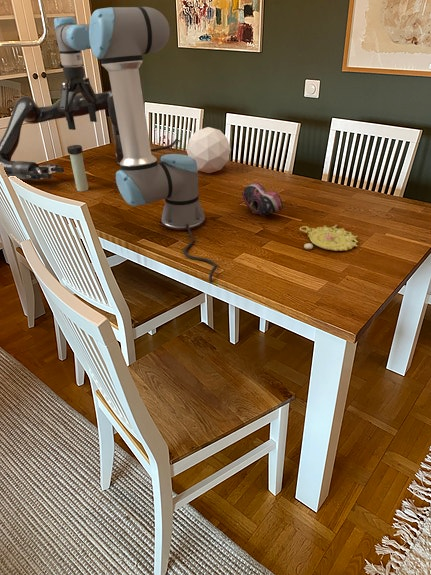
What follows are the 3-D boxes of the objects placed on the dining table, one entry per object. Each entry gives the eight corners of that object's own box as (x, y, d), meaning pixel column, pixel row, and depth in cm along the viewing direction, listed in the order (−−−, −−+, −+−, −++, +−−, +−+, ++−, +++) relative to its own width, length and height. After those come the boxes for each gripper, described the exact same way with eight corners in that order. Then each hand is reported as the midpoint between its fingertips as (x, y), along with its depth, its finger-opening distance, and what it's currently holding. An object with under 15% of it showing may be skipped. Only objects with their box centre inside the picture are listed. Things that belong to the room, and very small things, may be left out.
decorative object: (343, 255, 128) (285, 234, 139) (342, 262, 130) (284, 241, 140) (372, 230, 142) (317, 213, 152) (371, 237, 143) (316, 219, 153)
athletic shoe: (254, 181, 170) (227, 189, 167) (283, 176, 151) (253, 185, 147) (260, 210, 173) (234, 218, 170) (290, 209, 154) (261, 219, 150)
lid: (85, 151, 179) (84, 145, 178) (75, 154, 175) (73, 149, 174) (75, 149, 182) (74, 144, 181) (65, 153, 178) (63, 147, 177)
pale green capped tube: (90, 188, 188) (83, 147, 178) (82, 192, 184) (74, 150, 175) (82, 186, 190) (74, 145, 181) (74, 190, 187) (65, 148, 177)
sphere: (214, 188, 203) (213, 162, 184) (180, 167, 207) (175, 139, 188) (238, 160, 207) (239, 131, 189) (204, 140, 212) (202, 110, 193)
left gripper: (38, 173, 199) (68, 176, 195) (16, 184, 188) (48, 187, 183) (34, 157, 195) (65, 159, 191) (12, 166, 184) (44, 169, 179)
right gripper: (58, 70, 153) (70, 133, 165) (101, 62, 172) (109, 119, 184) (41, 70, 156) (54, 132, 167) (85, 61, 175) (94, 118, 186)
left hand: (57, 173), depth 187 cm, fingers open, 8 cm apart
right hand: (83, 125), depth 175 cm, fingers open, 13 cm apart
